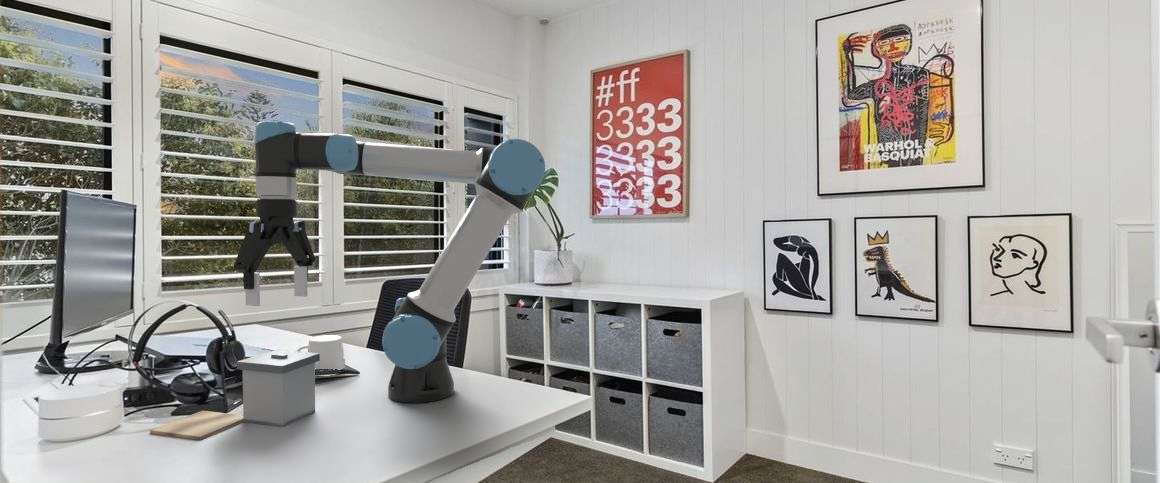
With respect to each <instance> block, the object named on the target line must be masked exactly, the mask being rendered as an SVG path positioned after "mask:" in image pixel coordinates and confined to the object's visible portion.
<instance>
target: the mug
mask: <svg viewBox="0 0 1160 483" xmlns="http://www.w3.org/2000/svg"><path fill="white" fill-rule="evenodd" d="M343 346H344V345H343V338H342V335H341V336H340V335H337V334H336V335H335V334H325V335H316V336H313V337H310V338H309V339H308V343H307V344H304V345H300V346H299V347H298V348H297V349H296V351H298V352H302V350H305V349H307V352H310V353H320V361H317V362H315V368H316V369H333V370H335V369H343V368H345V369H346V357H345V353H344V347H343Z"/></svg>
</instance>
